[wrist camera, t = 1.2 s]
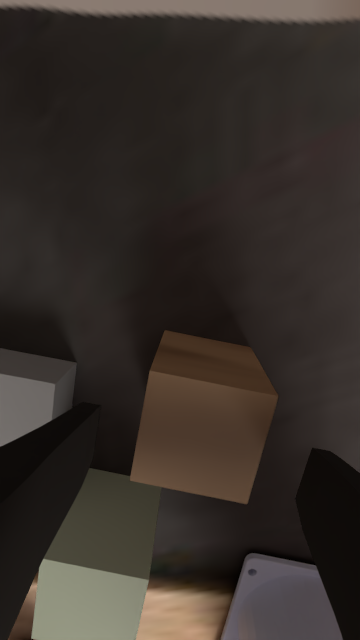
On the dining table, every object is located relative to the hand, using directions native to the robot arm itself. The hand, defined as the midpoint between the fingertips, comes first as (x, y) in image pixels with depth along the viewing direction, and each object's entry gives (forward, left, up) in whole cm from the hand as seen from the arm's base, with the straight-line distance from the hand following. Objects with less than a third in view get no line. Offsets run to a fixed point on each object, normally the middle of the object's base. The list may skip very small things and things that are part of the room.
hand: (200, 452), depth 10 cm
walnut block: (0, 0, -6) cm, 6 cm away
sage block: (-9, +3, -6) cm, 11 cm away
